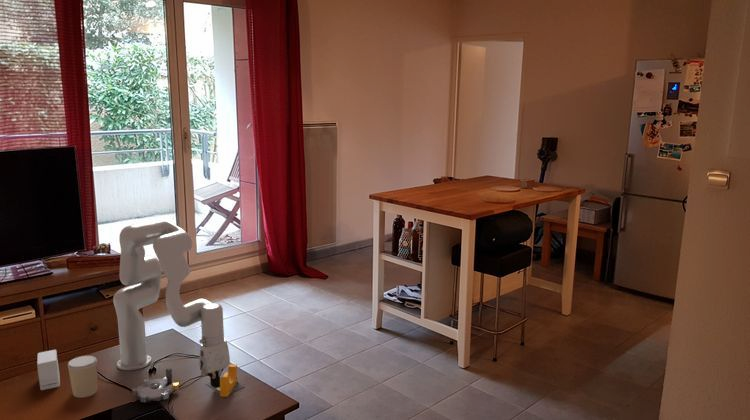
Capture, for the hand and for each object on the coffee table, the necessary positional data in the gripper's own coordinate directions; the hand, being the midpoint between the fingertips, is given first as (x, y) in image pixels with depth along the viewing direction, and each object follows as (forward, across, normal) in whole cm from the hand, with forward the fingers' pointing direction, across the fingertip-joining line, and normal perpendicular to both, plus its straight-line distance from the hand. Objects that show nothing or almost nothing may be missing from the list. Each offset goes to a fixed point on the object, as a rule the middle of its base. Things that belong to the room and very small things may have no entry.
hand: (215, 386), depth 209 cm
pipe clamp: (+2, +3, -2) cm, 4 cm away
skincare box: (+2, -36, +51) cm, 62 cm away
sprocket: (0, -16, +13) cm, 21 cm away
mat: (+2, +4, 0) cm, 5 cm away
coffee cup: (+2, -31, +34) cm, 46 cm away
